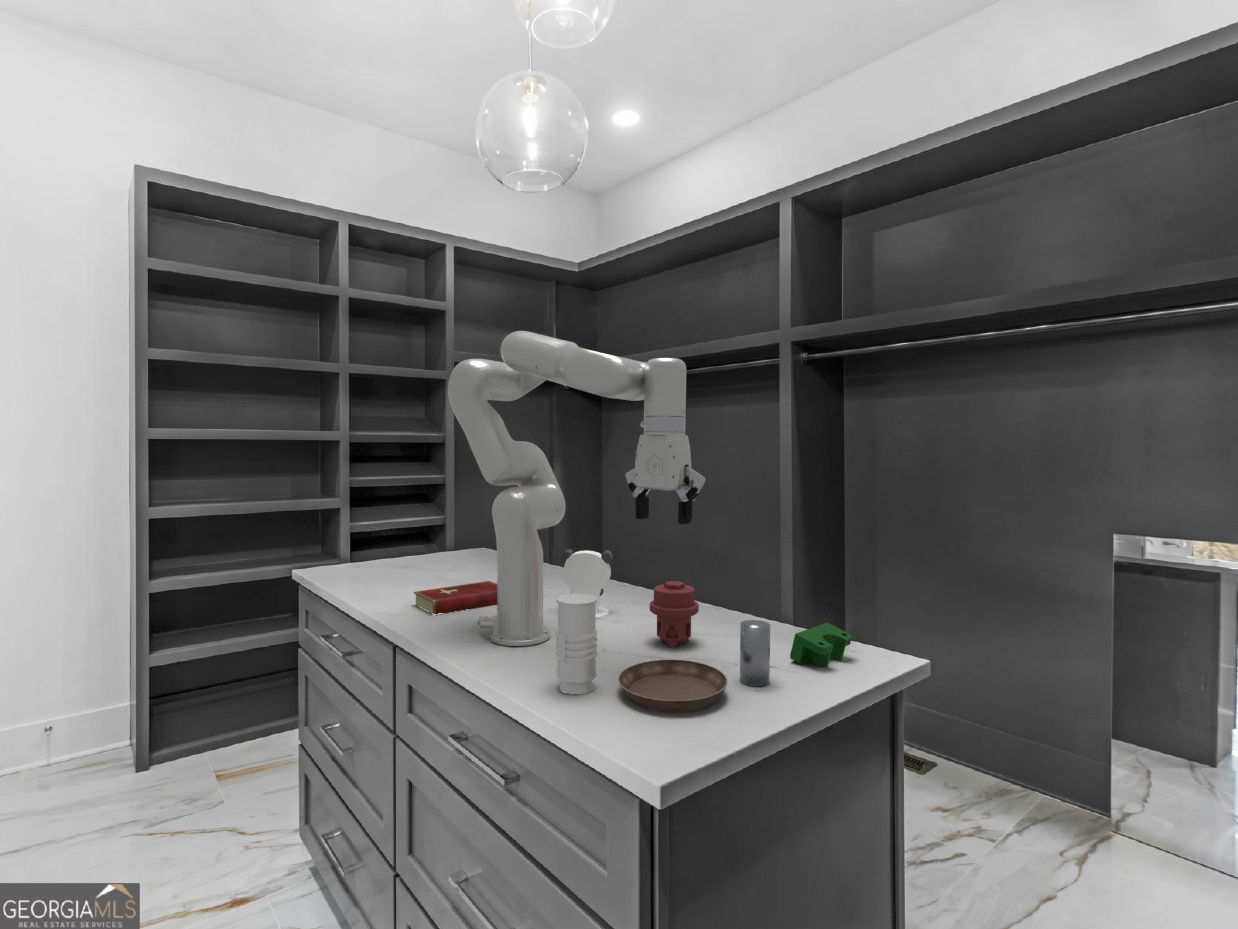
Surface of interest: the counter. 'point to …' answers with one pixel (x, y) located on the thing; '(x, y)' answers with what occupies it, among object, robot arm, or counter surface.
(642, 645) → the counter surface
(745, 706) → the counter surface
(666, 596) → the mechanical component
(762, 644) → the metal pillar
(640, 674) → the plant saucer
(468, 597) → the hardcover book
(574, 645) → the white ribbed cylinder
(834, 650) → the clamp
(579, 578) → the panda figurine
